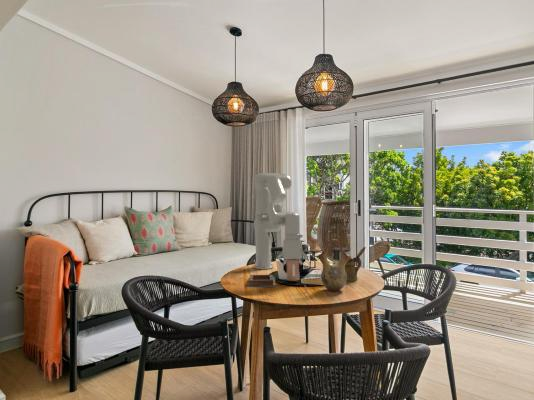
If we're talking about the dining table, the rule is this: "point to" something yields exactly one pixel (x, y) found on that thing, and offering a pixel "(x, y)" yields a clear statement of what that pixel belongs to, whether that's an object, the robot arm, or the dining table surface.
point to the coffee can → (339, 253)
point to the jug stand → (261, 281)
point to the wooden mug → (353, 267)
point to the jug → (292, 270)
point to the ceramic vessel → (333, 269)
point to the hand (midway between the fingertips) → (292, 271)
